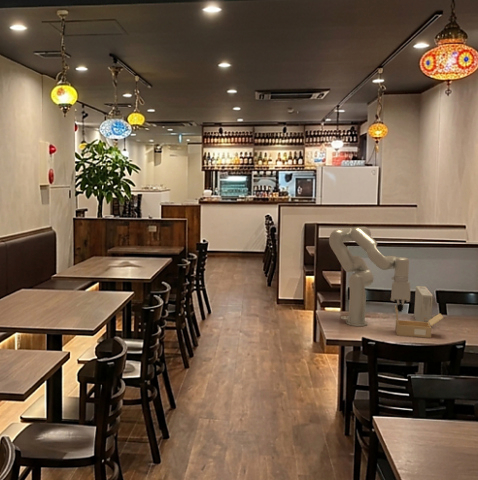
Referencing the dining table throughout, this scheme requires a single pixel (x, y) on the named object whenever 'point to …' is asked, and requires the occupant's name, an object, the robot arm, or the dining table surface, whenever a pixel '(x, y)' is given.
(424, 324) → the carton
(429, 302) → the packaging
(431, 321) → the flap
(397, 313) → the flap
